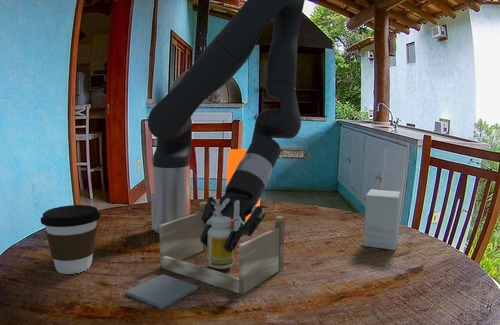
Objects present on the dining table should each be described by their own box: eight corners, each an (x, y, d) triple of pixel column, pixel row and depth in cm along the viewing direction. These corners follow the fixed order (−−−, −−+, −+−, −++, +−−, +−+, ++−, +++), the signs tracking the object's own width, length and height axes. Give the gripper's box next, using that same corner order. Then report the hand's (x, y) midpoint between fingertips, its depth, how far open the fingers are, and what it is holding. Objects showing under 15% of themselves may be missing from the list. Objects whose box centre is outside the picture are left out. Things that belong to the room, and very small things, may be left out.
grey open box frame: (159, 267, 87) (158, 215, 85) (203, 248, 98) (203, 201, 97) (244, 294, 75) (244, 234, 73) (283, 269, 87) (284, 217, 85)
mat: (125, 294, 75) (125, 291, 75) (162, 277, 82) (162, 274, 82) (161, 308, 70) (161, 305, 70) (198, 289, 77) (198, 286, 77)
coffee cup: (59, 258, 91) (56, 203, 89) (110, 259, 91) (108, 204, 89) (32, 279, 80) (28, 218, 79) (89, 280, 80) (86, 219, 78)
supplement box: (398, 241, 105) (402, 191, 103) (395, 251, 98) (398, 197, 96) (368, 237, 108) (370, 188, 106) (362, 246, 101) (365, 194, 99)
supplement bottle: (202, 263, 87) (202, 217, 86) (223, 257, 91) (223, 213, 89) (217, 271, 83) (217, 224, 82) (239, 265, 86) (239, 219, 85)
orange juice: (231, 213, 129) (231, 147, 126) (260, 214, 127) (261, 148, 124) (226, 220, 121) (226, 150, 118) (256, 222, 120) (257, 151, 117)
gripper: (216, 165, 94) (179, 230, 86) (272, 172, 86) (236, 245, 78) (230, 184, 99) (196, 248, 91) (284, 193, 91) (252, 264, 83)
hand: (215, 246), depth 85 cm, fingers closed on supplement bottle, 5 cm apart
